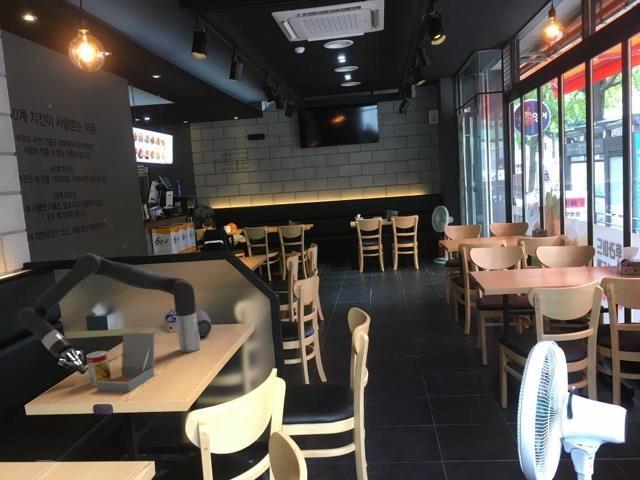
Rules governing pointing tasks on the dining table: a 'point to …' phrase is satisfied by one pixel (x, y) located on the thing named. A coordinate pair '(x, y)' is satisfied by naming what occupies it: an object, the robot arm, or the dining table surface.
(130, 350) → the case
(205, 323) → the bluetooth speaker
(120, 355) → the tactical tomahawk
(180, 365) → the dining table surface
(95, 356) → the canned food
